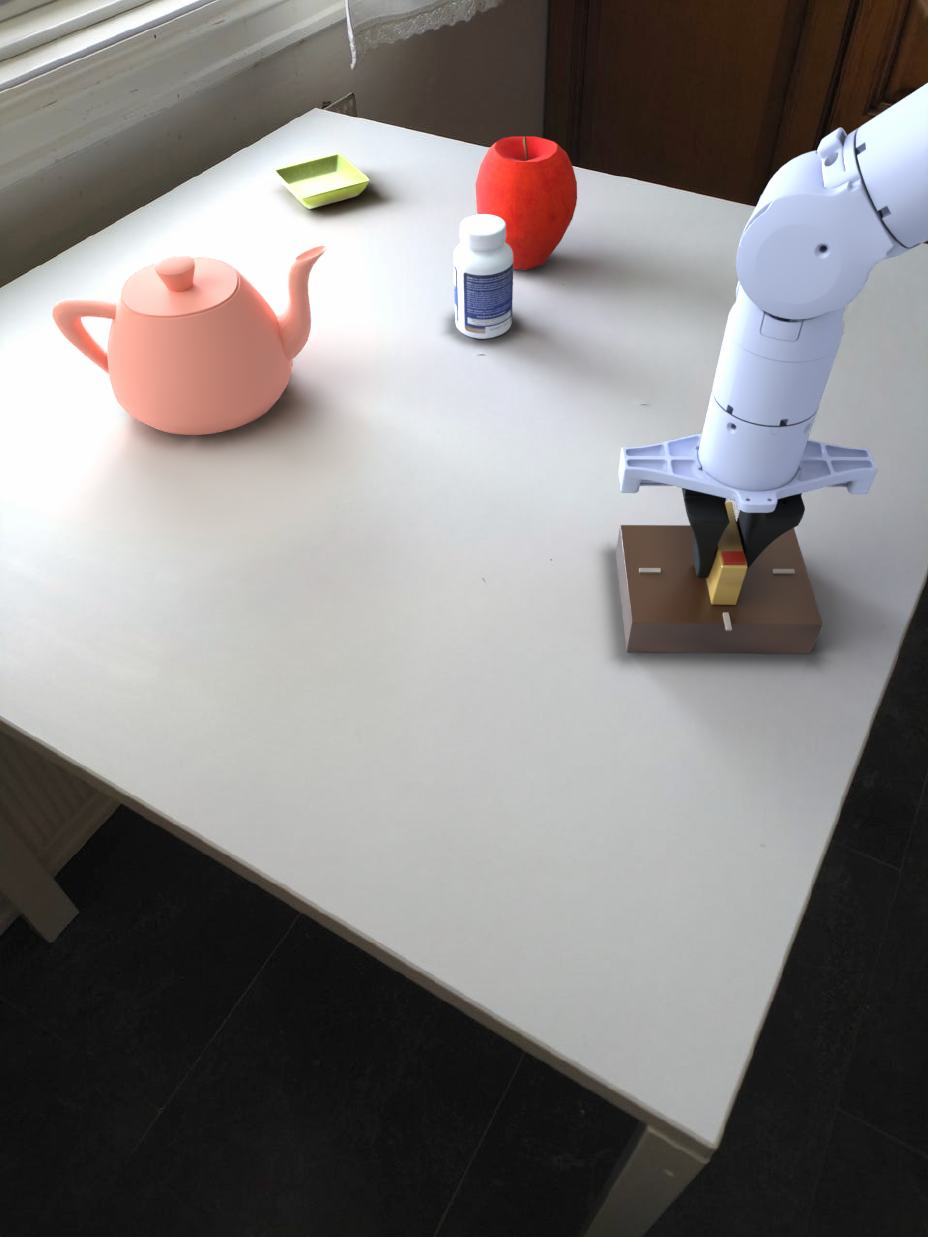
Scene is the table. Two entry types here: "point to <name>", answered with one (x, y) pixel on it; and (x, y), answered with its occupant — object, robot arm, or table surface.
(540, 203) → the apple
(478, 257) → the pill bottle
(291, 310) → the teapot
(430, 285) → the table surface
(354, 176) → the green square tray
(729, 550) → the handle
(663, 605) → the lock plate
